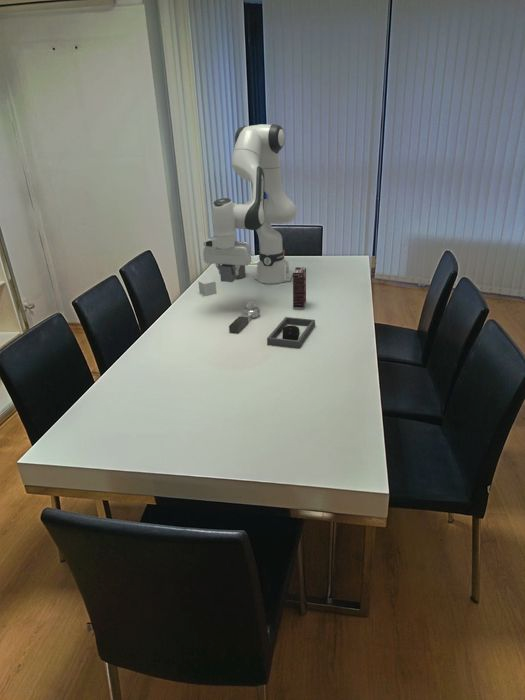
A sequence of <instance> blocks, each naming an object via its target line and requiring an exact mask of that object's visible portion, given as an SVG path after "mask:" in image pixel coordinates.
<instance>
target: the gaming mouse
mask: <svg viewBox="0 0 525 700" xmlns="http://www.w3.org/2000/svg"><path fill="white" fill-rule="evenodd" d="M299 337H300V327H299V326H298V325H286V326H285V327H284V328H283V330H282V338H281V339H288V340H298V339H299Z"/></svg>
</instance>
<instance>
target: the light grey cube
mask: <svg viewBox="0 0 525 700" xmlns="http://www.w3.org/2000/svg"><path fill="white" fill-rule="evenodd" d="M198 290H199V291H198V292H199V294H200V295H202V296H204V297H209V296H212V295H217V294H218V293H217V284H216V281H215V280H213V279H212V278H206V279H201V280H198Z"/></svg>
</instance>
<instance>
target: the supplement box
mask: <svg viewBox="0 0 525 700" xmlns="http://www.w3.org/2000/svg"><path fill="white" fill-rule="evenodd" d="M306 304H307V267H301V266H300V267H298V266H297V267H295V268H294V270H293V275H292V309H293V310H304V309H305V305H306Z"/></svg>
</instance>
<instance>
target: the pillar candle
mask: <svg viewBox="0 0 525 700" xmlns="http://www.w3.org/2000/svg"><path fill="white" fill-rule="evenodd" d="M244 278H246V266H245V265H240V268H239V270H238V275H237V279H236V280H242V279H244Z"/></svg>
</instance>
